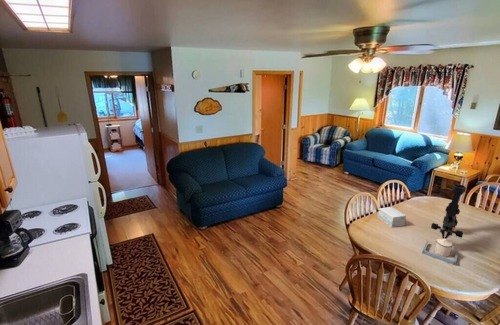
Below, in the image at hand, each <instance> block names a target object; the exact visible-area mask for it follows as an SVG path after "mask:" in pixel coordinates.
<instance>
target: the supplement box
mask: <svg viewBox="0 0 500 325" xmlns="http://www.w3.org/2000/svg"><path fill="white" fill-rule="evenodd" d="M406 217H407V215H406V214H404V213H402V212H401V211H399V210H397V209H396V208H394V207H392V206H388V207H382V208H381V207H380V208H379V209H378V215H377V218H378V219H379V218H380V219H379V220H381V221H382V222H383V221H384V223H385V224H387V225H388V226H389V227H390V228H394V227H401V226H405V224H406V223H405V222H406V219H407V218H406Z"/></svg>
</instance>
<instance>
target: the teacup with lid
mask: <svg viewBox="0 0 500 325" xmlns="http://www.w3.org/2000/svg"><path fill="white" fill-rule="evenodd" d="M452 247H453V242H452V241H451V240H448V238H447V239H443V238H437V239H436V240H435V249H434V252H435V254H436V255H439V256H442V257H445V258H448V257H449V256H450V253H451V251H452Z"/></svg>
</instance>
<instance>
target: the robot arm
mask: <svg viewBox="0 0 500 325" xmlns="http://www.w3.org/2000/svg"><path fill="white" fill-rule="evenodd" d="M466 190H467V187H466V186H465V185H464V184H459V183H455V184H452V188H451V191H452V192H453V196H452V199H451V202H449V203H448V205H447V206H446V208H445V215H444V217H443V220H442V226H439V224H438V223H434V222H432V223H431V225H430V229H433V230H436V231H437V230H439V233H441V236H442V237H441V239H447V240H448V238H449V237H450V236H453V234H454V235H455V236H456V237H458V238H461V239H462V238H463V236H464V231H462V230H458V229H456V230H453V229H454V228H456V227H458V226H457V225H458V222H459V221H458V219H457V218H458V217H457V215H459V214H460V213H461V210H460V204H459V201H460V198H461V196H462V195H463V194H464V193H466ZM445 233H446V234H445Z"/></svg>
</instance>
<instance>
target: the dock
mask: <svg viewBox="0 0 500 325" xmlns="http://www.w3.org/2000/svg"><path fill="white" fill-rule="evenodd" d="M428 245H429V241H427V240H426V242H425V244H424V246H423V249H422V253H421V254H423V255H426V256H428V257H431V258H434V259H436V260H439V261H442V262H444V263H447V264H450V265H453V266H456V264H457V261H458V260H457V259H458V255H459V251H458V250H455V254H454V257H453V259H450V258H448V257H443V256H440V255H438V254H437V253H433V252H431V251H428V250H427V248H428Z"/></svg>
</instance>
